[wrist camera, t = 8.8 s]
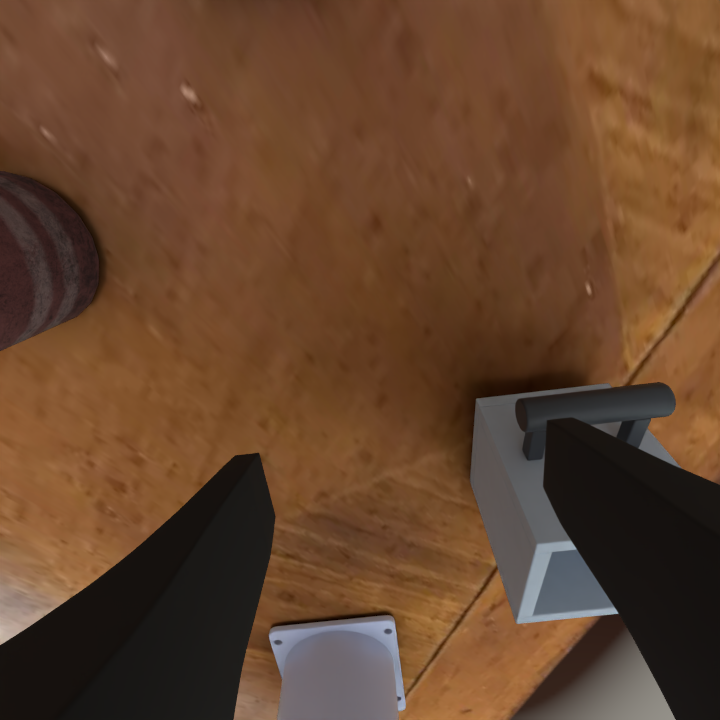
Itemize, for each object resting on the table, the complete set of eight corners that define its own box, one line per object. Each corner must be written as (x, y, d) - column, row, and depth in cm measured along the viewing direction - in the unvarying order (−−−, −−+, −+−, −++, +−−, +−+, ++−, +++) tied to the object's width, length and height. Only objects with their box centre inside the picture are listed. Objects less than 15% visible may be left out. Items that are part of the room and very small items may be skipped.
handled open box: (666, 609, 16) (773, 466, 11) (515, 624, 16) (551, 490, 11) (581, 468, 22) (625, 330, 17) (469, 480, 22) (479, 347, 17)
